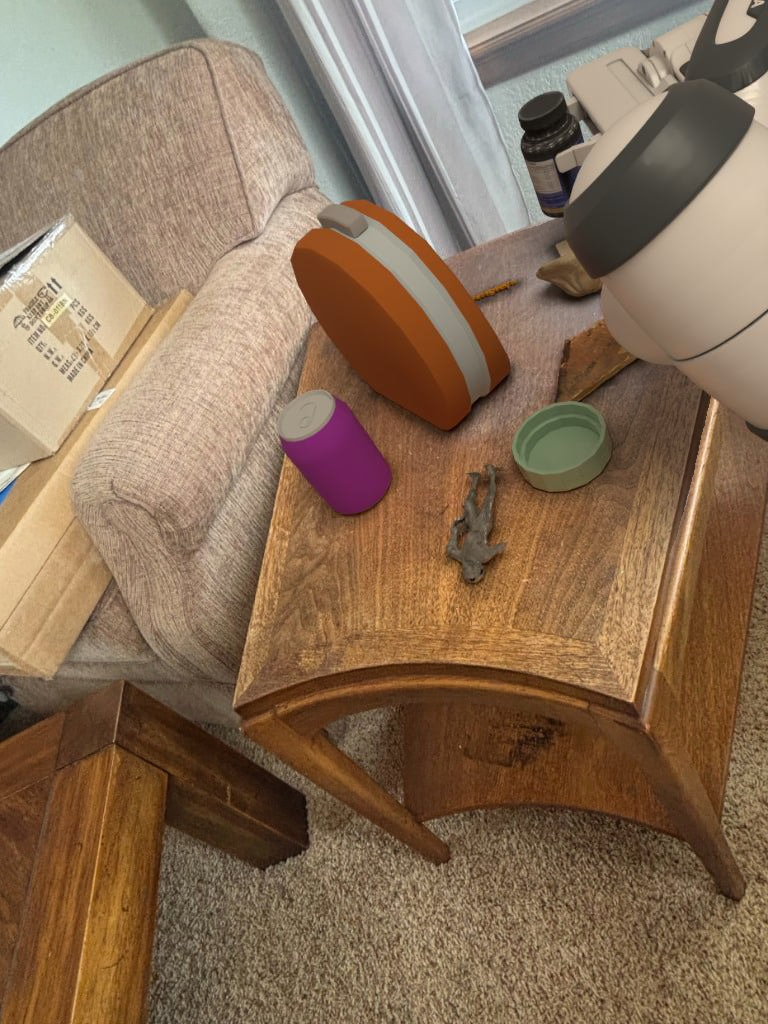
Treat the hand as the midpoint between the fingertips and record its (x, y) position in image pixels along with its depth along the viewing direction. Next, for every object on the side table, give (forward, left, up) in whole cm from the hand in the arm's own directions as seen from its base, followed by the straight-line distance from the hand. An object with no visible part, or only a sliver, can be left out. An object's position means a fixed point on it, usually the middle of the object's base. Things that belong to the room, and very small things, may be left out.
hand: (547, 148), depth 75 cm
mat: (-1, 0, -13) cm, 13 cm away
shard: (+3, +20, -13) cm, 25 cm away
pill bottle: (0, 0, -7) cm, 7 cm away
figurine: (+18, +34, -13) cm, 41 cm away
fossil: (+1, +6, -13) cm, 15 cm away
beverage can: (+30, +23, -13) cm, 40 cm away
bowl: (+9, +29, -13) cm, 33 cm away
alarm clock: (+19, +11, -13) cm, 26 cm away
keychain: (+12, 0, -12) cm, 17 cm away
